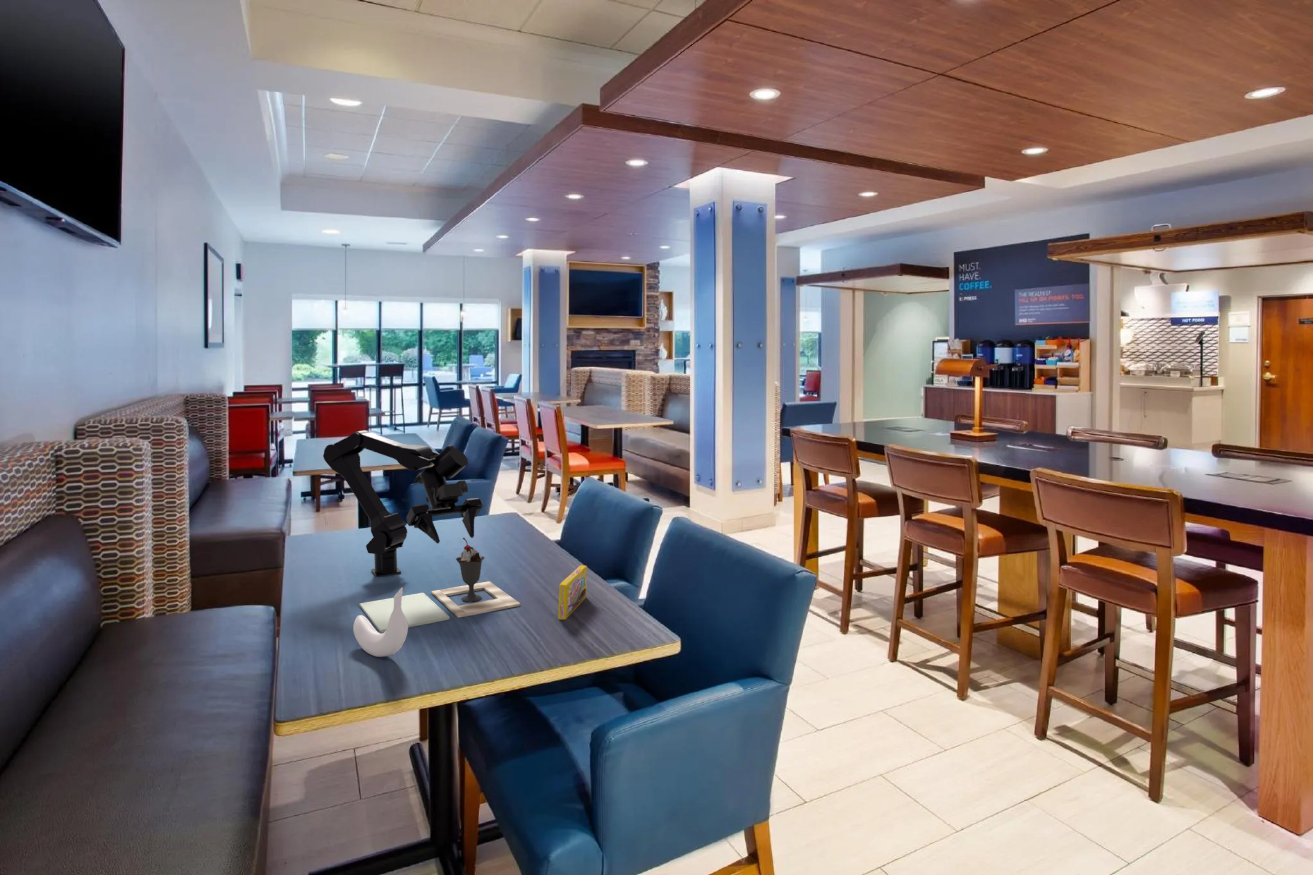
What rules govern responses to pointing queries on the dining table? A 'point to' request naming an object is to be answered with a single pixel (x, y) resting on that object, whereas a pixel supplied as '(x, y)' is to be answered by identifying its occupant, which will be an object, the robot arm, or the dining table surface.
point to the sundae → (470, 571)
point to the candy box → (572, 592)
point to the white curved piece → (390, 638)
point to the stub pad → (404, 611)
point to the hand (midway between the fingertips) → (455, 539)
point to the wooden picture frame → (498, 603)
